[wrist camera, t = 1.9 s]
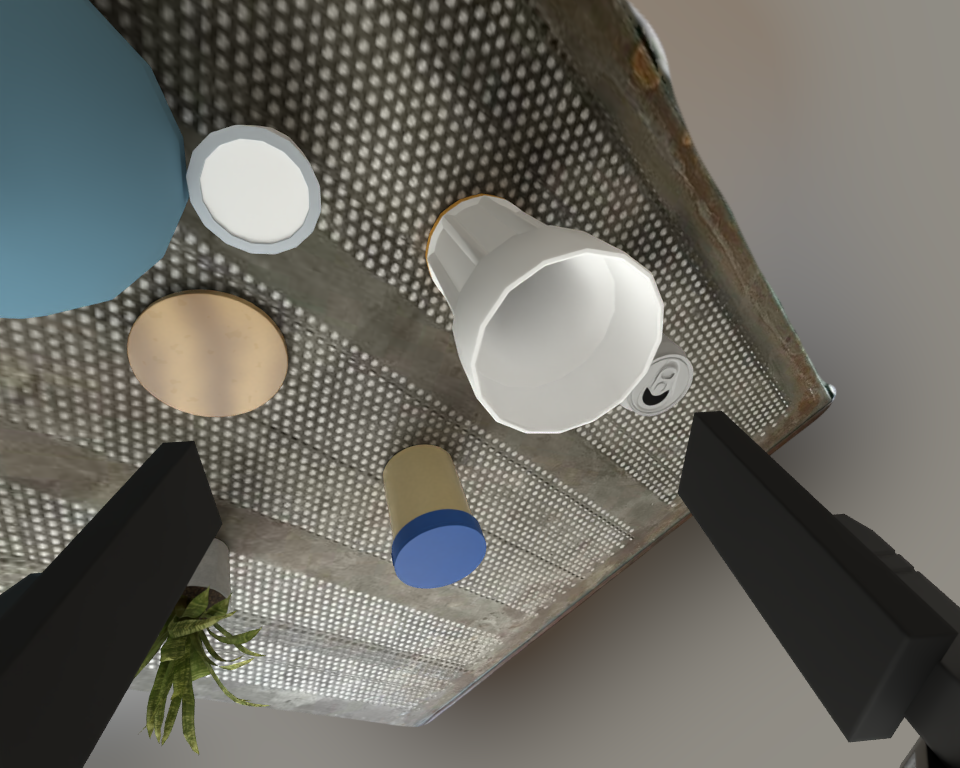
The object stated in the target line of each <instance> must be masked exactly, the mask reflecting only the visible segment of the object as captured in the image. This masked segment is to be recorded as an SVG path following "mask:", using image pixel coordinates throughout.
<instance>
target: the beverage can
mask: <svg viewBox="0 0 960 768" xmlns="http://www.w3.org/2000/svg"><path fill="white" fill-rule="evenodd" d="M692 379H693V367H692V364H691V362H690V361H689V360H688V359H687V356H686V354H685V352H684V350H683V349H682V348H681V347H680V346H679V345H677V344H676V343H675V342H673V341H672V340H671V339H669V338H668V337H667V336H665V335H664V334H663V333H662V341H661V343H660V345H659V347H658V349H657V352H656V354H655V356H654V358H653V361H652V363H651V365H650V367H649V369H648V372H647V373H646V375H645V376H644V377H643V378H642V379H641V381H640V382H639V383H638V384H637V385H636V387H635V388H634V389H633V390H632V391H631V393H630V394H629V395H628V396H627V397H626V398H625V400H624V401H623V402H621V403H620V404H621V405H622V406H623V407H624V408H626V409H628V410H632V411H634V412H635V413H637V414H639V415H642V416H653V415H657V414H660V413H663V412H665V411H667V410H668V409H670V408H672V407H673V406H674V405H676V404H677V403H678V402H679V401H680V400H681V399H682V398H683V396H684V395H685V394H686V392H687V391H688V389H689V387H690V385H691V382H692Z"/></svg>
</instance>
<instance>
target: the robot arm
mask: <svg viewBox="0 0 960 768" xmlns="http://www.w3.org/2000/svg"><path fill="white" fill-rule="evenodd" d="M678 494H679V496H680V497H681V499H682V500H683V502H684V503H685V505H686V506H687V507H688V509H689V510H690V512H691V513H692V515H693V516H694V517H695V519H696V520H697V522H698V523H699V524H700V526H701V528H702V529H703V531H704V532H705V533H706V535H707V536H708V538H709V539H710V541H711V542H712V544H713V545H714V546H715V548H716V550H717V551H718V553H719V554H720V555H721V557H722V558H723V560H724V561H725V563H726V564H727V566H728V567H729V569H730V570H731V571H732V573H733V574H734V576H735V577H736V579H737V580H738V582H739V583H740V584H741V586H742V587H743V589H744V590H745V592H746V593H747V595H748V596H749V598H750V599H751V600H752V602H753V603H754V605H755V606H756V608H757V609H758V611H759V612H760V614H761V615H762V617H763V618H764V619H765V621H766V622H767V624H768V625H769V627H770V628H771V629H772V631H773V633H774V634H775V635H776V637H777V638H778V639H779V641H780V643H781V644H782V646H783V647H784V648H785V650H786V651H787V653H788V654H789V656H790V657H791V659H792V660H793V662H794V663H795V664H796V666H797V667H798V669H799V670H800V672H801V673H802V675H803V676H804V677H805V679H806V680H807V682H808V683H809V685H810V686H811V688H812V689H813V691H814V692H815V694H816V695H817V696H818V698H819V699H820V701H821V702H822V704H823V705H824V707H825V708H826V709H827V711H828V713H829V714H830V715H831V717H832V718H833V720H834V721H835V723H836V724H837V725H838V727H839V728H840V730H841V731H842V733H843V734H844V736H845V737H846V739H847V740H848V742H856V741H867V740H876V739H886V738H891V737H892V735H893V734H894V732H895V731H896V729H897V728H898V726H899V724H900V723H901V721H902V720H903V719H904V717H905V718H906V719H907V720H908V722H909V723H910V724H911V725H912V727H913V728H914V729H915V730H916V731H917V733H918V734H919V735H920V738H919V739H918V740H917V742H916V743H915V745H914V746H913V748H912V749H911V751H910V752H909V754H908V755H907V756H906V758H905V759H904V761H903V762H902V763H901V765H900V768H960V607H959V606H957V605H956V604H955V603H954V602H953V601H952V600H951V599H949V598H948V597H947V596H946V595H945V594H944V593H943V592H942V591H940V590H939V589H938V588H937V587H936V586H935V585H934V584H932V583H931V582H930V581H929V580H928V579H927V578H926V577H925V576H923V575H922V574H921V573H920V572H918V571H917V572H916V571H915V570H914V567H913V566H912V565H911V564H910V563H909V562H908V561H907V560H905V559H904V558H903V557H902V556H901V555H900V554H896V553H895V550H894V549H893V548H892V547H891V546H890V545H888V544H887V543H886V542H885V541H884V540H883V539H882V538H881V537H880V536H878V535H877V534H876V533H875V532H874V531H873V530H871V529H869V528H868V527H866V526H864V525H862V524H861V523H859V522H857V521H855V520H854V519H852V518H850V517H848V516H847V515H845V514H837V515H832V514H831V513H830V512H829V511H828V510H827V509H826V508H825V507H824V506H823V505H822V504H820V503H819V502H818V501H817V500H816V499H815V498H814V497H813V496H812V495H811V494H810V493H809V492H808V491H807V490H805V488H803V487H802V486H801V485H800V484H799V483H798V482H797V481H796V480H795V479H794V478H793V477H792V476H790V475H789V473H787V472H786V471H785V470H784V469H783V468H782V467H781V466H780V465H779V464H778V463H776V461H775V460H773V459H772V458H771V457H770V456H769V455H768V454H767V453H766V452H765V451H764V450H763V449H762V448H761V447H760V446H759V445H758V444H756V443H755V442H754V441H753V440H752V439H751V438H750V437H749V436H748V435H747V434H746V433H745V432H744V431H743V430H742V429H740V428H739V427H738V426H737V425H736V424H735V423H734V422H733V421H732V420H731V419H730V418H729V417H728V416H727V415H726V414H724V413H723V412H722V411H714V412H696V413H694V418H693V422H692V427H691V432H690V437H689V442H688V446H687V451H686V456H685V461H684V465H683V470H682V475H681V480H680V485H679V489H678ZM221 525H222V521H221V518H220V516H219V513H218V510H217V507H216V504H215V501H214V498H213V495H212V492H211V489H210V486H209V483H208V480H207V477H206V474H205V472H204V469H203V466H202V463H201V460H200V457H199V454H198V451H197V448H196V445H195V442H194V441H187V442H169V443H162V444H161V445H160V447H159V448H158V449H157V450H156V451H155V452H154V453H153V454H152V455H151V456H150V457H149V458H148V459H147V461H146V462H145V463H144V464H143V465H142V466H141V467H140V468H139V469H138V470H137V471H136V472H135V473H134V475H133V476H132V477H131V478H130V479H129V480H128V481H127V482H126V483H125V484H124V485H123V486H122V487H121V489H120V490H119V491H118V492H117V493H116V494H115V495H114V496H113V497H112V498H111V499H110V500H109V501H108V503H107V504H106V505H105V506H104V507H103V508H102V509H101V510H100V511H99V512H98V513H97V514H96V515H95V517H94V518H93V519H92V520H91V521H90V522H89V523H88V524H87V525H86V526H85V527H84V528H83V529H82V531H81V532H80V533H79V534H78V535H77V536H76V537H75V538H74V539H73V540H72V541H71V542H70V543H69V545H68V546H67V547H66V548H65V549H64V550H63V551H62V552H61V553H60V554H59V555H58V556H57V557H56V559H55V560H54V561H53V562H52V563H51V564H50V565H49V566H48V567H47V568H46V569H45V570H44V571H43V573H33V574H29V575H28V576H27V577H25V578H24V579H22V580H21V581H19V582H18V583H17V584H15V585H14V586H12V587H11V588H9V589H8V590H7V591H5V592H4V593H2V594H1V595H0V768H83V766H84V764H85V763H86V761H87V759H88V757H89V756H90V754H91V752H92V751H93V749H94V747H95V745H96V743H97V742H98V740H99V738H100V737H101V735H102V733H103V731H104V730H105V728H106V726H107V724H108V722H109V721H110V719H111V717H112V716H113V714H114V712H115V710H116V709H117V707H118V705H119V703H120V702H121V700H122V698H123V696H124V694H125V693H126V691H127V689H128V688H129V686H130V684H131V682H132V681H133V679H134V677H135V675H136V674H137V672H138V670H139V668H140V667H141V665H142V663H143V661H144V660H145V658H146V656H147V655H148V653H149V651H150V649H151V648H152V646H153V644H154V642H155V641H156V639H157V637H158V635H159V634H160V632H161V630H162V628H163V627H164V625H165V623H166V621H167V620H168V618H169V616H170V614H171V613H172V611H173V609H174V607H175V606H176V604H177V602H178V600H179V599H180V597H181V595H182V593H183V592H184V590H185V588H186V586H187V585H188V583H189V581H190V579H191V578H192V576H193V574H194V572H195V571H196V569H197V567H198V565H199V564H200V562H201V560H202V558H203V557H204V555H205V553H206V551H207V550H208V548H209V546H210V545H211V543H212V541H213V539H214V538H215V536H216V534H217V532H218V531H219V529H220V527H221Z"/></svg>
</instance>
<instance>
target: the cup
mask: <svg viewBox="0 0 960 768" xmlns="http://www.w3.org/2000/svg"><path fill="white" fill-rule="evenodd" d="M425 257H426V261H427V266H428V269H429V272H430V276H431V278H432V280H433V281H434V283H435V284H436V286H437V287H438V289H439V290H440V291H441V293H442V294H443V295H444V297H445V299H446V301H447V303H448V305H449V307H450V309H451V311H452V313H453V315H454V320H453V325H452V330H453V334H454V339H455V343H456V347H457V351H458V355H459V359H460V361H461V363H462V366H463V368H464V370H465V373H466V375H467V377H468V379H469V382H470V384H471V386H472V389H473V391H474V393H475V396H476V398H477V399H478V400H479V401H480V403H481V404H482V405H483V406H484V407H485V409H486V410H487V411H488V412H489V413H490V414H491V416H492V417H493V418H494V419H495V420H496V422H499V423H501V424H504V425H506V426H509V427H511V428H514V429H516V430H519V431H521V432H524V433H562V432H565V431H568V430H571V429H573V428H576V427H579V426H582V425H585V424H588V423H591V422H593V421H595V420H596V419H598V418H599V417H601V416H602V415H604V414H605V413H607V412H608V411H610V410H611V409H613V408H614V407H615V406H617V405H618V404H620V403H621V402H623V401H624V400H625V398H626V397H627V396H628V395H629V394H630V393H631V391H632V390H633V389H634V388H635V387H636V385H637V384H638V383H639V382H640V381H641V379H642V378H643V377H644V376H645V375H646V373H647V372H648V369H649V367H650V365H651V363H652V361H653V358H654V356H655V354H656V352H657V349H658V347H659V345H660V343H661V341H662V328H663V311H664V303H663V300H662V298H661V295H660V293H659V290H658V287H657V285H656V282H655V280H654V277H653V274H652V272H650V271H649V270H648V269H646V268H645V267H644V266H642V265H641V264H640V263H638V262H637V261H636V260H635V259H633V258H632V257H631V256H629V255H628V254H627V253H625V252H624V251H622V250H620V249H618V248H616V247H614V246H612V245H610V244H608V243H606V242H604V241H602V240H600V239H598V238H596V237H594V236H592V235H590V234H588V233H586V232H585V231H580V230H574V229H569V228H563V227H558V226H552V225H549V226H547V225H546V224H544V223H542V222H540V221H539V220H537V219H535V218H533V217H532V216H530V215H528V214H527V213H525V212H523V211H522V210H520V209H519V208H518V207H516V206H515V205H514V204H512V203H510V202H509V201H507V200H505V199H504V198H501V197H498V196H494V195H488V194H482V193H481V194H477V195H473V196H469V197H466V198H463V199H460V200H458V201H457V202H455V203H454V204H452V205H451V206H449V207H448V208H447V209H446V210H444V211H443V212H442V213H441V214H440V215H439V217H438V219H437V220H436V222H435V224H434V226H433V227H432V229H431V231H430V233H429V237H428V242H427V247H426V254H425Z"/></svg>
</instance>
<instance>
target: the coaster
mask: <svg viewBox="0 0 960 768" xmlns="http://www.w3.org/2000/svg"><path fill="white" fill-rule="evenodd" d="M127 355H128V359H129V363H130V366H131V368H132V371H133V373H134V374H135V376H136V378H137V379H138V381H139V382H140V383H141V384H142V386H143V387H144V388H145V389H146V390H147V391H148V392H149V393H150V394H152V395H153V396H154V397H156V398H157V399H158V400H160V401H162V402H163V403H165V404H167V405H169V406H171V407H173V408H175V409H177V410H180V411H183V412H186V413H190V414H193V415H199V416H206V417H227V416H234V415H239V414H243V413H246V412H249V411H251V410H254V409H256V408H258V407H260V406H261V405H263V404H264V403H266V402H267V401H268V400H270V399H271V398H272V397H273V396H274V395H275V394H276V393H277V392H278V390H279V389H280V387H281V386H282V384H283V382H284V380H285V377H286V374H287V369H288V349H287V345H286V342H285V339H284V337H283V335H282V333H281V331H280V329H279V328H278V326H277V325H276V324H275V322H274V321H273V320H272V319H271V318H270V317H269V316H268V315H267V314H266V313H265V312H264V311H262V310H261V309H260V308H258V307H257V306H255V305H254V304H252V303H250V302H248V301H246V300H245V299H243V298H240V297H237V296H235V295H232V294H228V293H225V292H221V291H215V290H203V289H197V290H186V291H180V292H176V293H172V294H169V295H167V296H164V297H162V298H160V299H158V300H156V301H155V302H153V303H152V304H150V305H149V306H148V307H147V308H146V309H145V310H143V312H142V313H141V314H140V315H139V317H138V318H137V319H136V321H135V322H134V324H133V326H132V328H131V330H130V333H129V336H128V342H127Z"/></svg>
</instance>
